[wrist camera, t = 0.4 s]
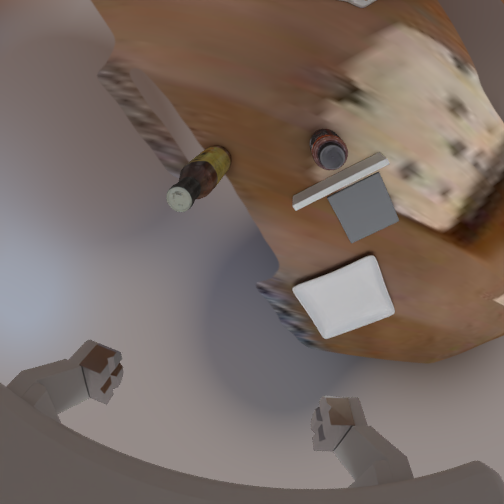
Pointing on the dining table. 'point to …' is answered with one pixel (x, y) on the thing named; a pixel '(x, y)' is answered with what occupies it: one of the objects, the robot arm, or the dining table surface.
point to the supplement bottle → (328, 149)
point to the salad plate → (346, 297)
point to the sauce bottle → (199, 178)
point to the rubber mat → (364, 207)
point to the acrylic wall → (339, 180)
